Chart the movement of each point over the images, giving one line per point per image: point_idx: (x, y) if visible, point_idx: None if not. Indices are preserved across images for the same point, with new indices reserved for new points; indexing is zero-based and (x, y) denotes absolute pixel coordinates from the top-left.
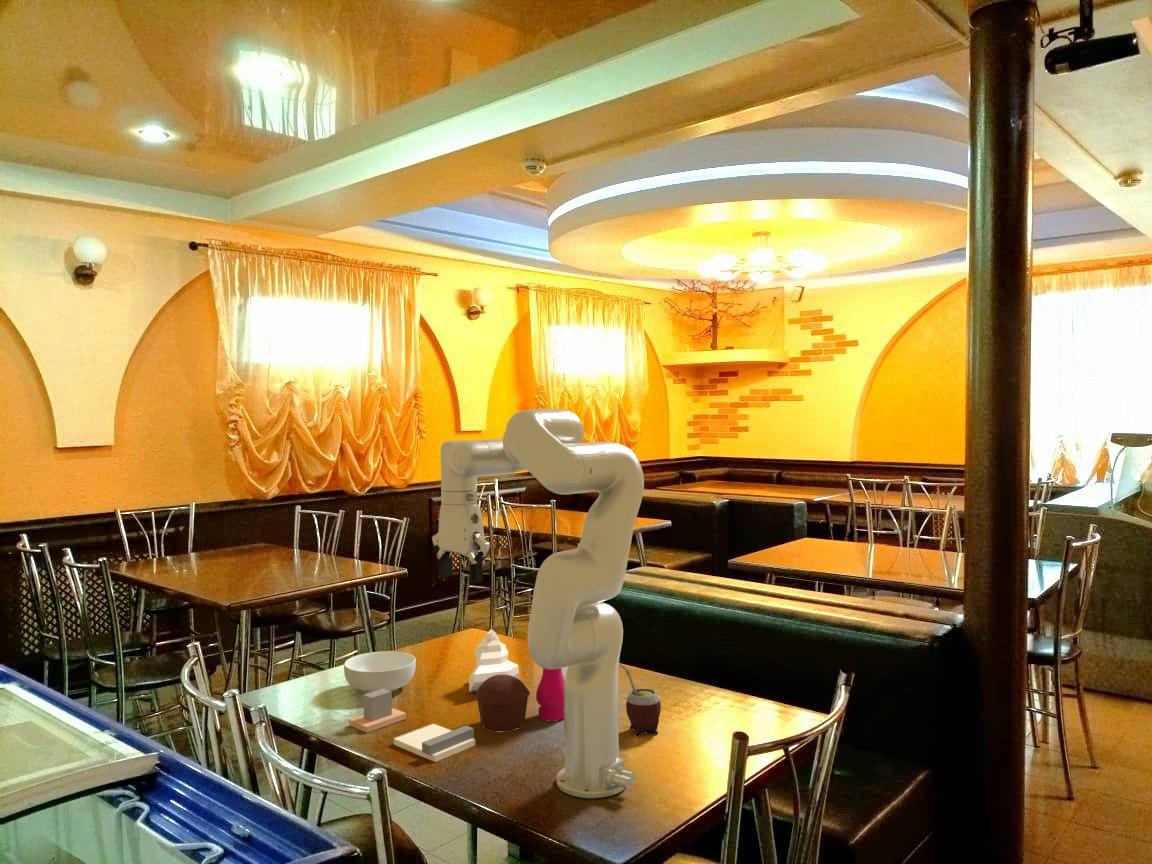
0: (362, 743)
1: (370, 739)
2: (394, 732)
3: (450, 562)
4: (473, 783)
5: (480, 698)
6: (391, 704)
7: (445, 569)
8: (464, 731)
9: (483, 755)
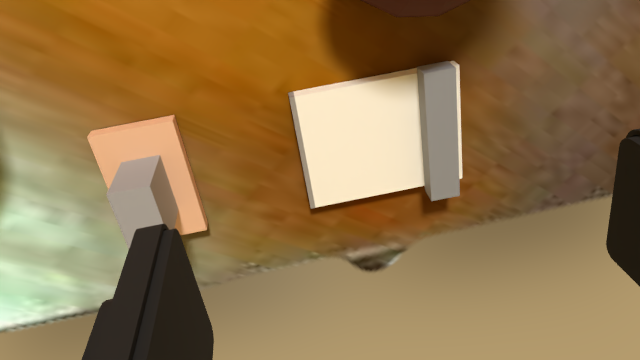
0: (259, 245)
1: (248, 226)
2: (243, 172)
3: (166, 354)
4: (590, 158)
5: (414, 14)
6: (156, 168)
7: (196, 353)
8: (453, 97)
9: (511, 75)
